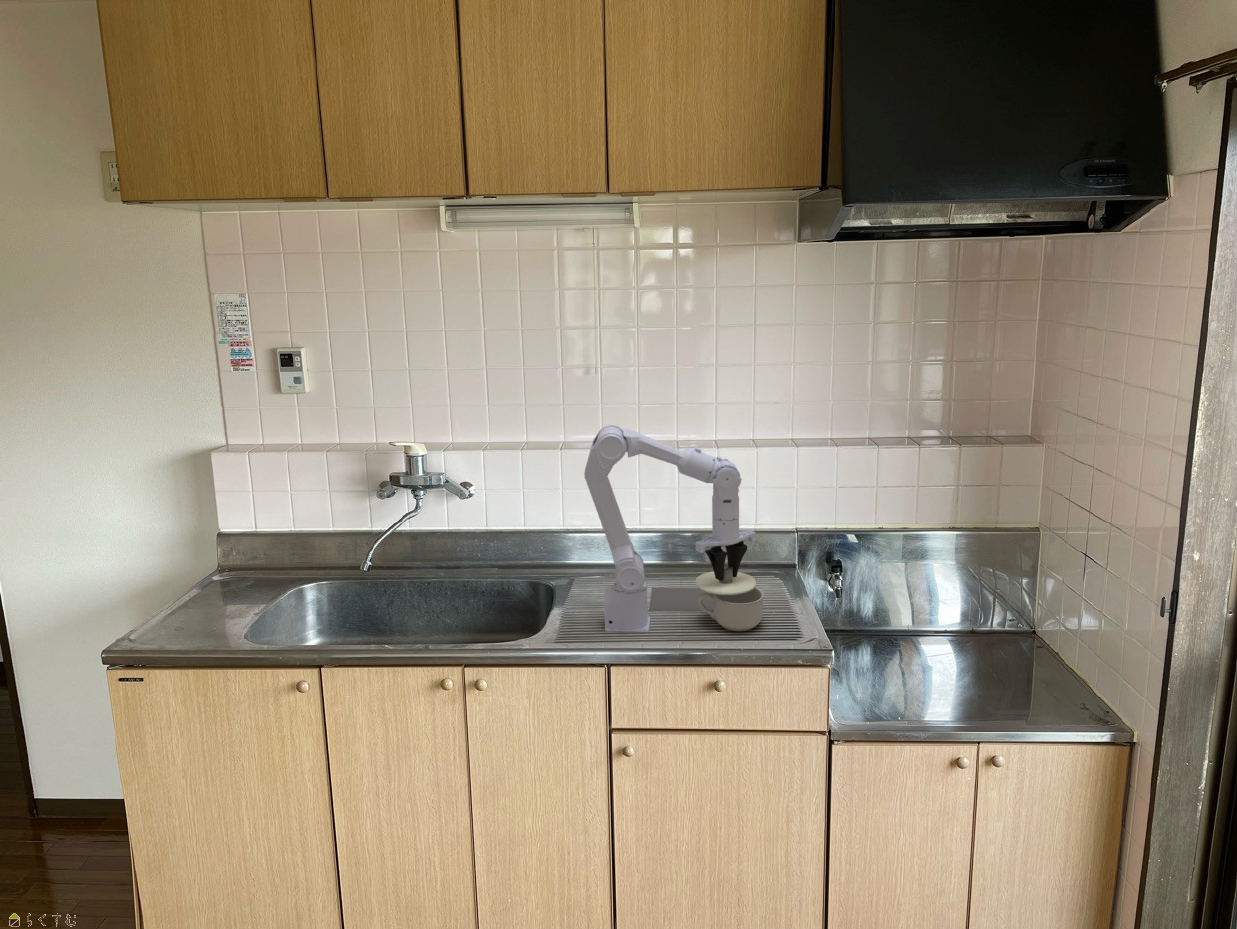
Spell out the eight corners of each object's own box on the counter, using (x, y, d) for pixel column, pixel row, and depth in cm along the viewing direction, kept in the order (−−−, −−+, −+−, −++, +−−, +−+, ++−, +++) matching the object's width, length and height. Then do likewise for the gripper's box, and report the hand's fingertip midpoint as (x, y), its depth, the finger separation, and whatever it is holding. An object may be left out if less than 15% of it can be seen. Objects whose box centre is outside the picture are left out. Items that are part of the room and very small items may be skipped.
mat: (649, 612, 208) (649, 610, 208) (652, 589, 223) (652, 587, 223) (715, 612, 207) (715, 611, 207) (714, 589, 222) (714, 587, 221)
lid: (693, 593, 194) (693, 577, 193) (698, 572, 207) (698, 557, 206) (755, 596, 192) (755, 580, 191) (756, 574, 204) (756, 559, 204)
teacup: (766, 619, 202) (766, 585, 201) (759, 639, 192) (759, 603, 191) (704, 614, 206) (704, 580, 205) (694, 633, 196) (693, 597, 195)
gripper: (741, 507, 203) (741, 566, 206) (687, 518, 196) (687, 579, 199) (761, 514, 197) (761, 574, 200) (706, 526, 190) (706, 588, 193)
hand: (726, 577), depth 199 cm, fingers closed on lid, 3 cm apart
